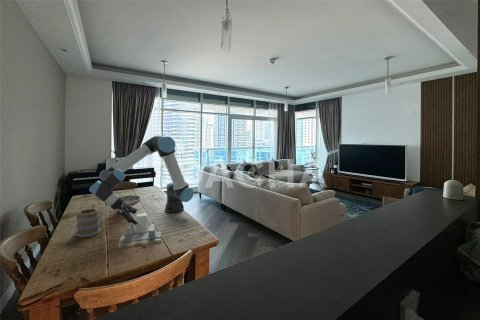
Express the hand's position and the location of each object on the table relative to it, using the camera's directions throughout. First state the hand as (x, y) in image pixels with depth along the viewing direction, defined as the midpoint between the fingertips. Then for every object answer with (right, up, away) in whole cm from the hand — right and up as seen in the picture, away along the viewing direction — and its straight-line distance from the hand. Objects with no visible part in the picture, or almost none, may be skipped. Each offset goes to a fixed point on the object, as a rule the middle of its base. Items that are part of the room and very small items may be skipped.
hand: (142, 222), depth 141 cm
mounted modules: (+5, -5, -12) cm, 14 cm away
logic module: (0, -6, +1) cm, 6 cm away
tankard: (-33, -6, +1) cm, 34 cm away
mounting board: (+5, -7, -12) cm, 14 cm away
